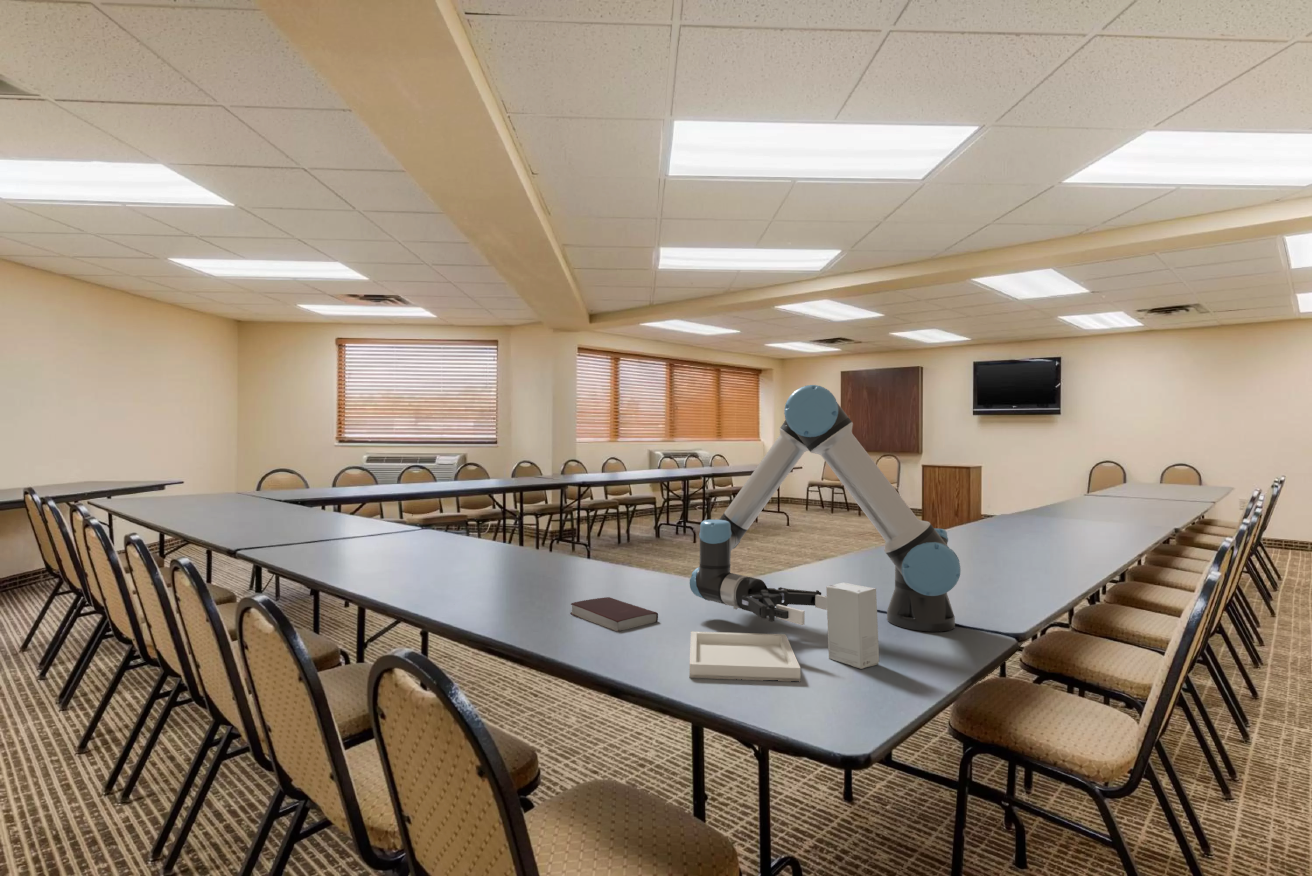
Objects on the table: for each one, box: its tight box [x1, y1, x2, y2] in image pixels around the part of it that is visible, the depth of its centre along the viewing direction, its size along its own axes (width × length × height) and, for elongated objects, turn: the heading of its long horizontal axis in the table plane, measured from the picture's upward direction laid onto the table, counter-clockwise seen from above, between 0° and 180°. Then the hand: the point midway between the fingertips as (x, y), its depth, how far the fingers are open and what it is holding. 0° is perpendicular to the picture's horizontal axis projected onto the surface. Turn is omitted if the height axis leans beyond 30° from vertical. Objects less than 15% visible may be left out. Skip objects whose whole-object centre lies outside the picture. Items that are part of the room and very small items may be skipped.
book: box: [569, 596, 659, 633], centre depth 155 cm, size 12×19×3 cm, turn 41°
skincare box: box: [826, 582, 880, 670], centre depth 126 cm, size 8×6×15 cm
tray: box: [688, 631, 801, 683], centre depth 125 cm, size 20×20×2 cm
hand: (823, 612), depth 130 cm, fingers open, 13 cm apart
